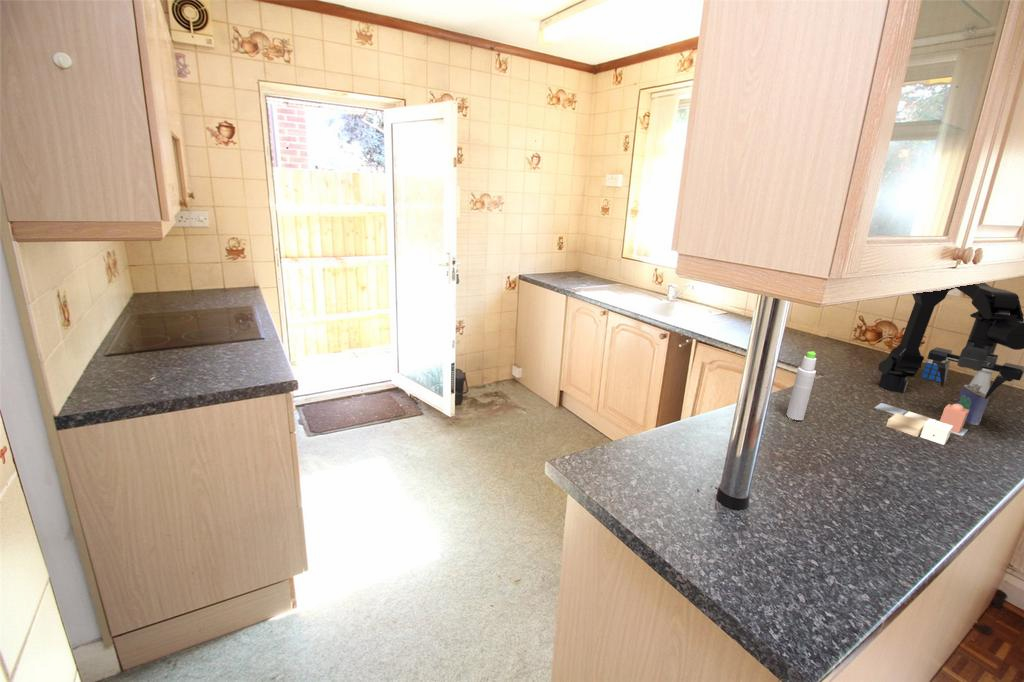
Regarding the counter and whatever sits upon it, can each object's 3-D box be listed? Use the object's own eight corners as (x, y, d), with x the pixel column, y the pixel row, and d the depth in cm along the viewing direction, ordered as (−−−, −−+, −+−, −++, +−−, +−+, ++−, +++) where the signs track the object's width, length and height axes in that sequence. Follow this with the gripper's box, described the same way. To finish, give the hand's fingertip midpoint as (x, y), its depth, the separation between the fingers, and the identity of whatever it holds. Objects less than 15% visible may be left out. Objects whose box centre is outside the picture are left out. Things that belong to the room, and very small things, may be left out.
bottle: (806, 420, 137) (824, 354, 130) (796, 423, 135) (814, 356, 128) (791, 413, 140) (808, 349, 134) (782, 416, 138) (799, 351, 132)
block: (885, 428, 134) (888, 419, 133) (893, 422, 139) (896, 413, 138) (916, 439, 129) (919, 429, 128) (923, 432, 133) (926, 422, 132)
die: (924, 423, 128) (949, 430, 124) (929, 418, 131) (953, 425, 127) (918, 440, 129) (943, 448, 125) (923, 434, 132) (947, 442, 129)
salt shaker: (976, 398, 161) (990, 361, 157) (990, 405, 155) (1005, 367, 151) (957, 396, 161) (971, 360, 157) (971, 403, 156) (985, 366, 152)
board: (871, 410, 146) (872, 408, 145) (881, 403, 151) (881, 401, 151) (961, 440, 130) (962, 437, 130) (968, 431, 136) (969, 429, 135)
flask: (980, 428, 138) (995, 391, 135) (967, 426, 139) (981, 389, 135) (960, 413, 147) (973, 379, 144) (948, 412, 148) (960, 377, 145)
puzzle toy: (920, 377, 178) (925, 362, 176) (923, 373, 181) (928, 359, 180) (941, 382, 173) (947, 367, 172) (943, 378, 177) (949, 363, 176)
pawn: (937, 426, 136) (946, 402, 133) (941, 422, 138) (950, 399, 136) (958, 433, 132) (967, 409, 130) (962, 429, 135) (971, 405, 133)
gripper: (931, 333, 129) (913, 386, 134) (1029, 353, 115) (1005, 411, 120) (941, 327, 136) (924, 378, 141) (1035, 346, 122) (1012, 402, 127)
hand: (963, 392), depth 132 cm, fingers open, 9 cm apart
